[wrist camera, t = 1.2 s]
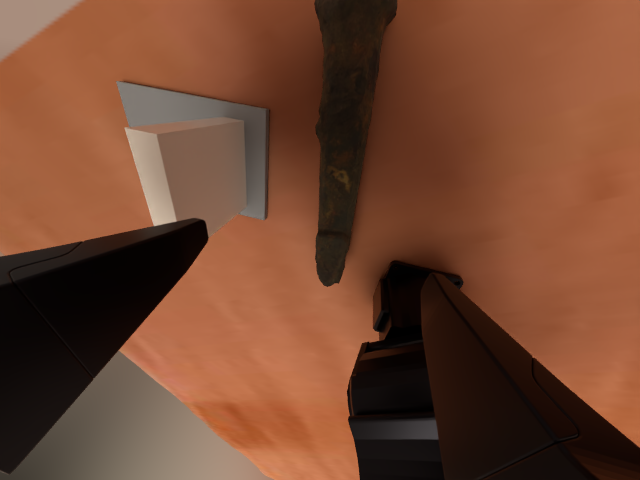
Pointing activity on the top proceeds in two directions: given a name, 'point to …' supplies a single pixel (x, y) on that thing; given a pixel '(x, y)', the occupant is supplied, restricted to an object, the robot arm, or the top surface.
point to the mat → (176, 107)
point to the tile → (192, 169)
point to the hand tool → (345, 118)
